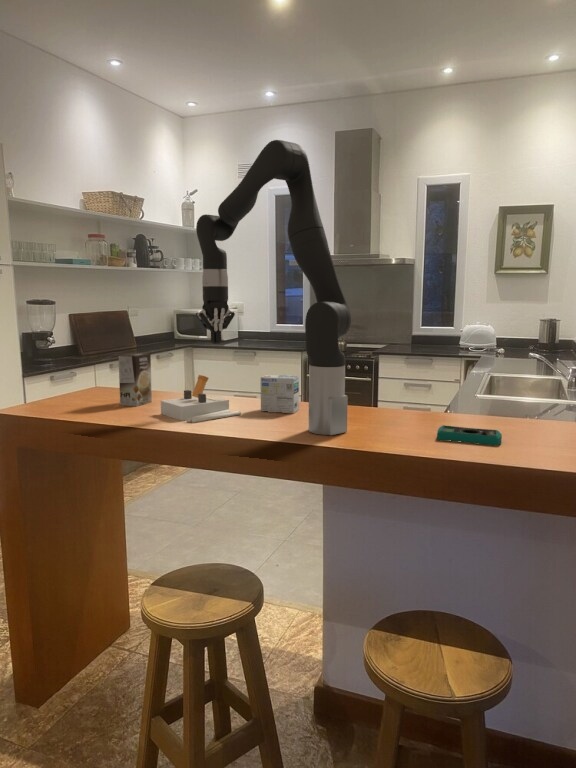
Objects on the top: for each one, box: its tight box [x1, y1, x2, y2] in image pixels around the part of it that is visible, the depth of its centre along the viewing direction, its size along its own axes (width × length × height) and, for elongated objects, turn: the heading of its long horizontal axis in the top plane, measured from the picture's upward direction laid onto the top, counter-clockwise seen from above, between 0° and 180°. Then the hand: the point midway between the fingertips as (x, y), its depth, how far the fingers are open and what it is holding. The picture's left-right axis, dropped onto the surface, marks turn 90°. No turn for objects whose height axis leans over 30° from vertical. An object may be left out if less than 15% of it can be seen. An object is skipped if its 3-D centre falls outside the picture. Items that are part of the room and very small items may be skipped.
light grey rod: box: [192, 410, 242, 424], centre depth 161 cm, size 1×16×1 cm, turn 131°
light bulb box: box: [260, 374, 300, 414], centre depth 172 cm, size 11×7×11 cm, turn 76°
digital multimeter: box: [436, 424, 503, 446], centre depth 139 cm, size 7×15×3 cm, turn 69°
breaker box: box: [160, 389, 230, 421], centre depth 168 cm, size 12×16×6 cm
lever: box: [191, 374, 209, 398], centre depth 168 cm, size 3×2×7 cm, turn 41°
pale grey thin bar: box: [185, 408, 231, 423], centre depth 163 cm, size 1×16×1 cm, turn 141°
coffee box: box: [118, 352, 153, 407], centre depth 183 cm, size 9×6×16 cm
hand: (216, 343), depth 170 cm, fingers closed
